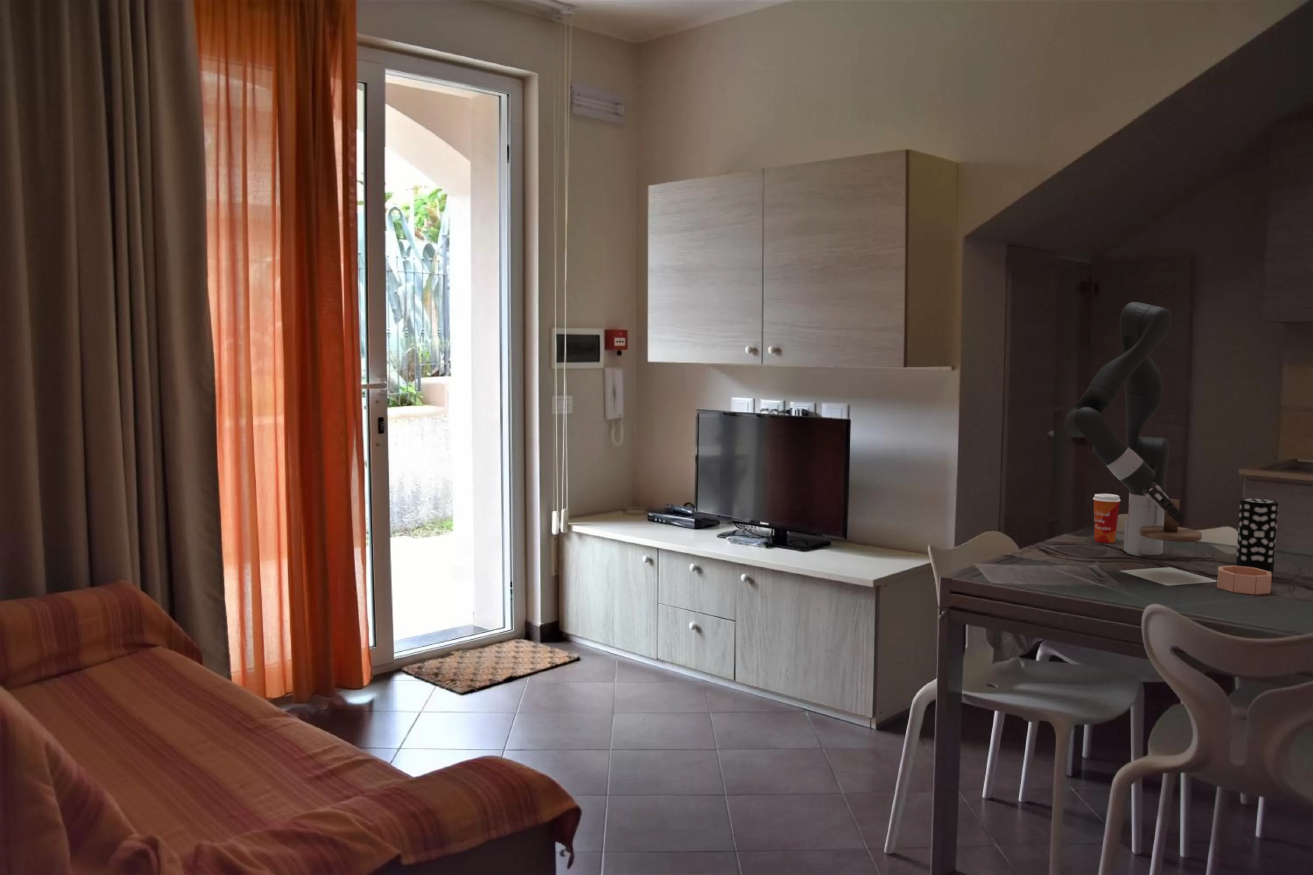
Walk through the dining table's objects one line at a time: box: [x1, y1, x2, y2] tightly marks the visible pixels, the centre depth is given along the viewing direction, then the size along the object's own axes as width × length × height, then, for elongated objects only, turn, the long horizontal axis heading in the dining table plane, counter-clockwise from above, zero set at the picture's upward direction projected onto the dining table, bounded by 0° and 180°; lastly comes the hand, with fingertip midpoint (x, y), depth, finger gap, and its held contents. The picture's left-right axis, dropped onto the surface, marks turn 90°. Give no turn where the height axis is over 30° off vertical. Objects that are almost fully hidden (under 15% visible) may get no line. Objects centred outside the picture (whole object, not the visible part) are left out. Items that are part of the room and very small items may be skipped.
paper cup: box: [1092, 493, 1121, 544], centre depth 300 cm, size 8×8×14 cm
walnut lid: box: [1139, 498, 1203, 543], centre depth 252 cm, size 14×14×9 cm
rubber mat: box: [1120, 566, 1218, 587], centre depth 254 cm, size 16×16×1 cm
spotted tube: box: [1235, 497, 1279, 581], centre depth 254 cm, size 8×8×20 cm
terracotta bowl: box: [1216, 565, 1273, 599], centre depth 241 cm, size 11×11×5 cm
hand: (1179, 518), depth 252 cm, fingers closed on walnut lid, 3 cm apart
